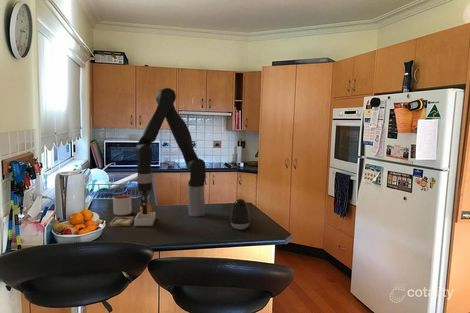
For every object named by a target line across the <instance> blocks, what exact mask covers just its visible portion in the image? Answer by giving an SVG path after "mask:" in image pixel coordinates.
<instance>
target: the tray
mask: <svg viewBox="0 0 470 313" xmlns="http://www.w3.org/2000/svg"><path fill="white" fill-rule="evenodd" d="M134 219H135V216H115V217H114V218H112V220H111V221H110V222H109V227H130V226H131V224H132V223H133V222H134Z"/></svg>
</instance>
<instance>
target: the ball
mask: <svg viewBox="0 0 470 313" xmlns="http://www.w3.org/2000/svg"><path fill="white" fill-rule="evenodd" d="M143 205H145V204H144V203H143ZM139 211H140V212H141V213H142V214H143V207H142V206H141V205H140V208H139ZM150 212H152V206H151V205H150V203H149V204H147V214H149V213H150ZM147 214H144V215H147Z"/></svg>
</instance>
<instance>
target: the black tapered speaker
mask: <svg viewBox="0 0 470 313" xmlns="http://www.w3.org/2000/svg"><path fill="white" fill-rule="evenodd" d="M229 222H230V225H231V226H232V228H234V229H236V230H239V231H240V230H241V231H242V230H245V229H247V228H248V227H249V225H250V223H251V216H250V211H249V207H248V204H247V202H246V201H245V200H244V199H243V198H238V199H236V200H235V202H234V203H233V206H232V207H231V212H230V218H229Z"/></svg>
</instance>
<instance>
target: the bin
mask: <svg viewBox="0 0 470 313" xmlns="http://www.w3.org/2000/svg"><path fill="white" fill-rule="evenodd" d="M155 220H156V211H151V212H150V213H149V214H147V215H144V214H142V213H141V212H138V213H137V214H136V216H134V220H133V226H134V227H152V226H153V225H154V223H155ZM153 227H154V226H153Z"/></svg>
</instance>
